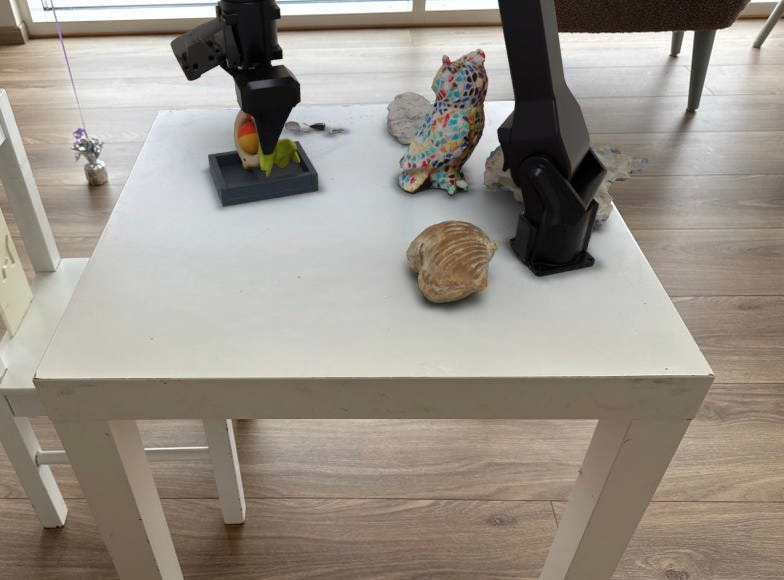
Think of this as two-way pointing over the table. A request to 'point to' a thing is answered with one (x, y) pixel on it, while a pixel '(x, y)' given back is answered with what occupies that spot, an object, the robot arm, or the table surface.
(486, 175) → the fossil rock
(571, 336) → the table surface
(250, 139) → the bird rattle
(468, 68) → the figurine
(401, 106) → the stone
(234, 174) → the display tray
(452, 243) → the seashell
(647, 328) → the table surface
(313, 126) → the toy
